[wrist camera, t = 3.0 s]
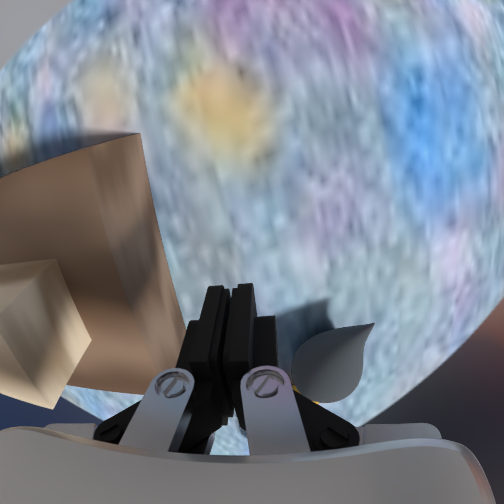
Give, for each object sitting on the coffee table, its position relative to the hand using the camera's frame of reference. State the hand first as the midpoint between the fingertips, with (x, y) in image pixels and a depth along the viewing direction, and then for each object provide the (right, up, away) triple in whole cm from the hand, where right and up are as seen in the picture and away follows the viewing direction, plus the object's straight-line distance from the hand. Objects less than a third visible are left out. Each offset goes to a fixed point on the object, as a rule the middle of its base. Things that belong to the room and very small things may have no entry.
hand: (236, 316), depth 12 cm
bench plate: (-12, +2, +7) cm, 14 cm away
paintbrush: (+5, -9, +13) cm, 16 cm away
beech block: (-11, -1, 0) cm, 11 cm away
